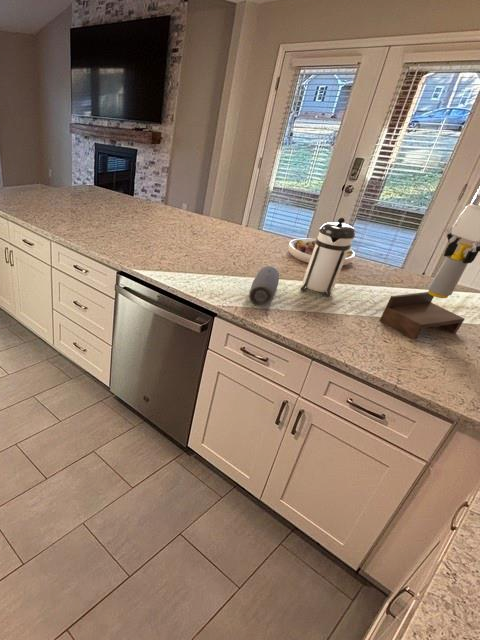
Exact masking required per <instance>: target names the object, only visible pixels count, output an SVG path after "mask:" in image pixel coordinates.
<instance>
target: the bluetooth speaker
mask: <svg viewBox="0 0 480 640" xmlns="http://www.w3.org/2000/svg"><path fill="white" fill-rule="evenodd" d="M279 281H280V274H279V270H278V269H277V268H276V267H274V266H264V267H262V268H261V269H260V270H258V272H257V273H256V275H255V277H254V279H253V280H252V283H251V286H250V289H249V295H248V296H249V297H248V298H249V301H250V303H251V304H252V305H253V306H256V307H261V308H262V307H263V308H264V307H266V306H268V305H270V304H271V303H272V301H273V300H274V297H275V295H276V293H277V290H278V287H279Z"/></svg>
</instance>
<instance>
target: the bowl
mask: <svg viewBox="0 0 480 640" xmlns="http://www.w3.org/2000/svg"><path fill="white" fill-rule="evenodd" d="M316 239H317V238H295V239H292V240H291V241H289V243H288V246H287V247H288V251H289V253H290V255H291V256H293V257H294V258H296V259H297V260H299V261H300V262H301V261H302V262H303V263H307V264H309V261H310V258H311V256H312V253H313V250H314V247H315V244H316V243H315V242H316ZM355 256H356V253H355V250H353V249H351V248H350V249H349V250H348V253H347V255H346V258H345V261H344V263H343V266H346V265H348V264H350V263H352V261H353V260H354V259H355Z"/></svg>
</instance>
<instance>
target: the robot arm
mask: <svg viewBox="0 0 480 640" xmlns="http://www.w3.org/2000/svg"><path fill="white" fill-rule="evenodd" d="M444 232H445V234H446V238H447V244H448V245H447V247H446V249H445V251H444V253H443V256H444V257H447V256H452V255H453V254H455V253H456V251H457V248H458V246H459V242H460V241H461V240H462V239H463V240H467V241H470V242H472V243H471V245H472V248H471V250H469V251H468V252H467V253H466V255H465V259H464V260H463V263H465V264H466V263H467V264H471V263H473V262H474V261H475V259H476V258H477V256H478V254H479V252H480V186H479V187H478V188H477V191H476V193H475V195H474V196H473V199H472V200H471V203H468V204H467V205H466V206H465V208H464V209H463V210H462V212H461V213H460V214H459V216H458V218H457V219H456V221H455V223H454V224H452V225H450V226H448V227H447V228H445V229H444ZM467 264H466V265H467Z"/></svg>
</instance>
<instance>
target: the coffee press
mask: <svg viewBox="0 0 480 640" xmlns="http://www.w3.org/2000/svg"><path fill="white" fill-rule="evenodd" d="M345 221H346V219H345V217H339V219H337V222H332V221H331V222H327V223H324V224H323V225H322V226H320V227H319V229H318V235H317V237H316V238H315V239H316V242H315V243H316V244H315V247H314V250H313V253H312V256H311V258H310V261H309V263H307V267H306V270H305V274H304V276H303V279H302V284H303V285H302V286H301V287H300V289H299V290H300V291H301V292H303V293H305V292H306V291H307V290H311V291H313V292H314V291H315V292H318V293H319V292H320V293H323V294H324V297H325V298H330V297H331V291H332V290H334V288H335V286H336V283H337V281H338V278H339V276H340V273H341V270H342V268H343V266H344V265H343V263H344V261H345V258H346V255H347V253H348V250H349V249H351V247H352V243H353V240H354V239H355V238H356V230H355V228H354V227H352V226H351V225H349V224H346V223H345Z"/></svg>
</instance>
